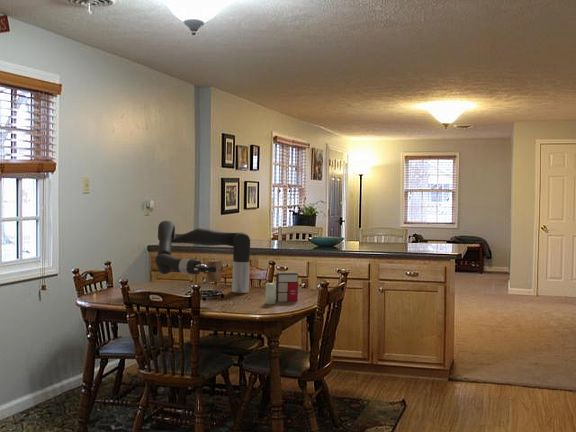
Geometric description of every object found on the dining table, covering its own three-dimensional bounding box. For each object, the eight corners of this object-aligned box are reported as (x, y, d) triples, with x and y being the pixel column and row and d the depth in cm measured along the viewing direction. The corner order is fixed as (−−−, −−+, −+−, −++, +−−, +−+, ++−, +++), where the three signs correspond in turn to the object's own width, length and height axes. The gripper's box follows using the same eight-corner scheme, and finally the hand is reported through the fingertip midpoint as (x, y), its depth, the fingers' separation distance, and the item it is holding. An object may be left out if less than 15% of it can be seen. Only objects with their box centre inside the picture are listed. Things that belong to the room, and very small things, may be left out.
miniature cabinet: (277, 303, 338) (278, 274, 337) (275, 301, 342) (276, 272, 341) (297, 302, 340) (298, 273, 340) (295, 301, 345) (296, 272, 344)
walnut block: (206, 281, 324) (207, 260, 323) (212, 279, 328) (213, 260, 328) (215, 282, 322) (216, 261, 321) (221, 280, 326) (221, 260, 326)
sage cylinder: (264, 302, 333) (265, 282, 332) (274, 302, 333) (275, 283, 333) (265, 304, 328) (265, 284, 327) (275, 304, 328) (275, 284, 328)
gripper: (198, 272, 338) (226, 275, 330) (181, 275, 325) (210, 278, 317) (198, 257, 337) (226, 260, 330) (182, 260, 324) (211, 263, 317)
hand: (218, 269), depth 324 cm, fingers closed on walnut block, 5 cm apart
